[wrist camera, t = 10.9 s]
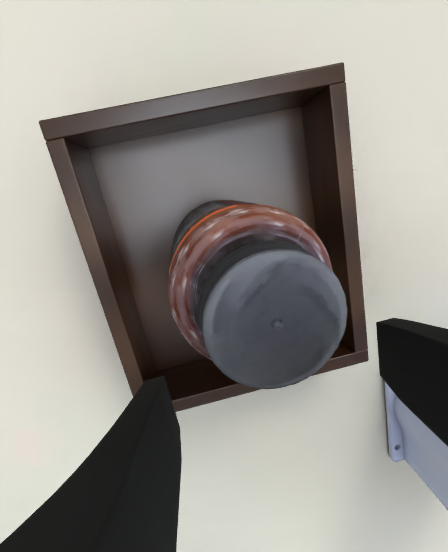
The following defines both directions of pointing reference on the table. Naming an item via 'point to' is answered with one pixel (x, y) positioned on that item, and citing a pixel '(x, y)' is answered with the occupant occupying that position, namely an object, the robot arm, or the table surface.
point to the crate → (201, 189)
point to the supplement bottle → (255, 293)
